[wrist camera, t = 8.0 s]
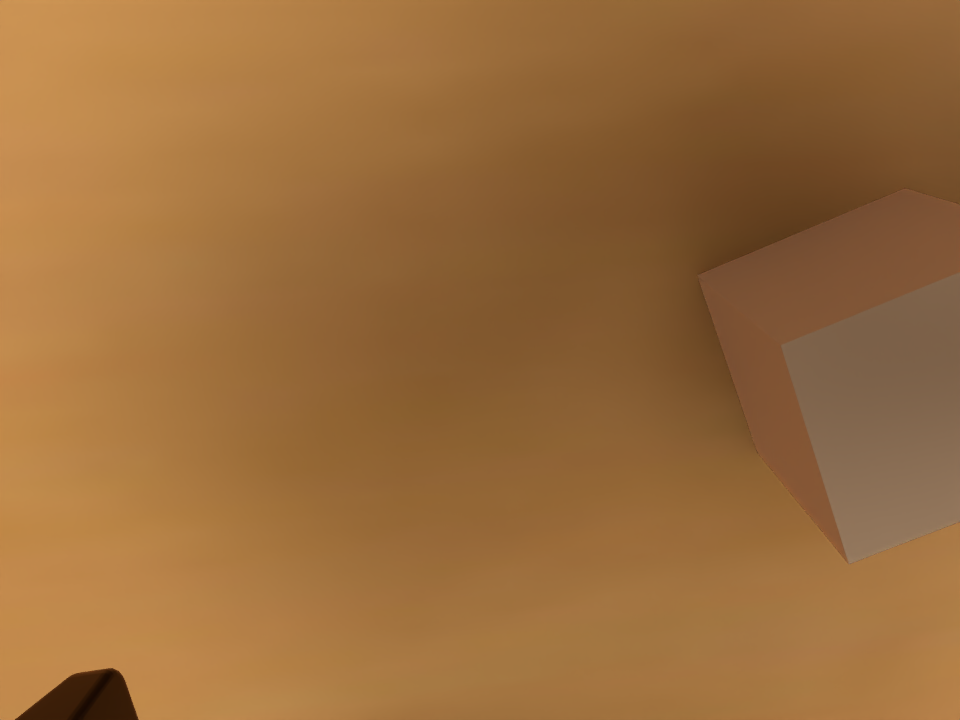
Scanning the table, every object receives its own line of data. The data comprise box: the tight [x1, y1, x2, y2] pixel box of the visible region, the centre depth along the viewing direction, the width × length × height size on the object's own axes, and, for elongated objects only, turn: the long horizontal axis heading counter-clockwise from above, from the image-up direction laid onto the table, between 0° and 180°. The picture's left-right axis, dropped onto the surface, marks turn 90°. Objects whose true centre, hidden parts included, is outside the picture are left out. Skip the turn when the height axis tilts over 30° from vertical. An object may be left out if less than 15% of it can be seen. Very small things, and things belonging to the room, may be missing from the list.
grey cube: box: [697, 188, 960, 564], centre depth 18 cm, size 5×5×5 cm
